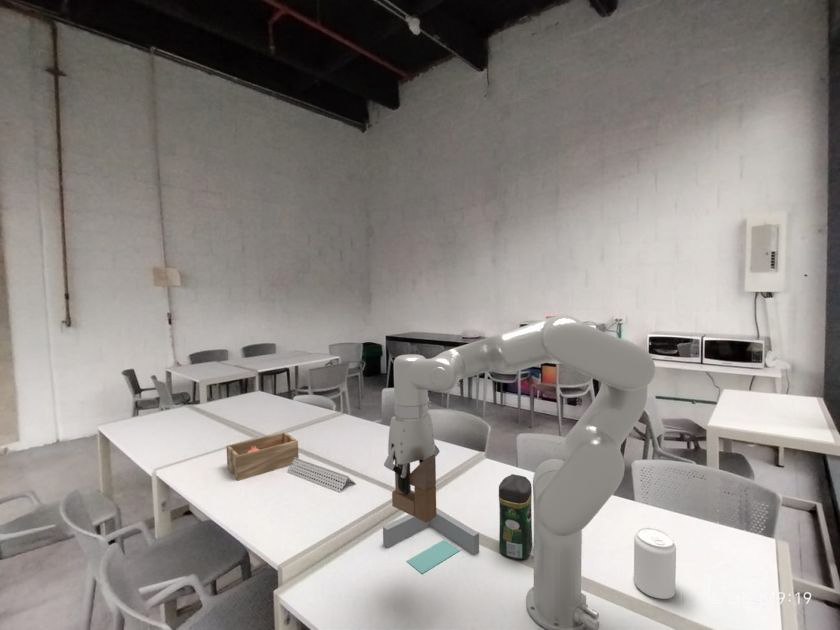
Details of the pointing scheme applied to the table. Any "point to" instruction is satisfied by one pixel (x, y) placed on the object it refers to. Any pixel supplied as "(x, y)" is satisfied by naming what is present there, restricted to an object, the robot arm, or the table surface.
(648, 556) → the beverage can
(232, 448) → the box
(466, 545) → the corner wall
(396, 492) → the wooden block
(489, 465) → the table surface
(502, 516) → the coffee jar
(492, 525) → the table surface
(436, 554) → the pad
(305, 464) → the corner bead
